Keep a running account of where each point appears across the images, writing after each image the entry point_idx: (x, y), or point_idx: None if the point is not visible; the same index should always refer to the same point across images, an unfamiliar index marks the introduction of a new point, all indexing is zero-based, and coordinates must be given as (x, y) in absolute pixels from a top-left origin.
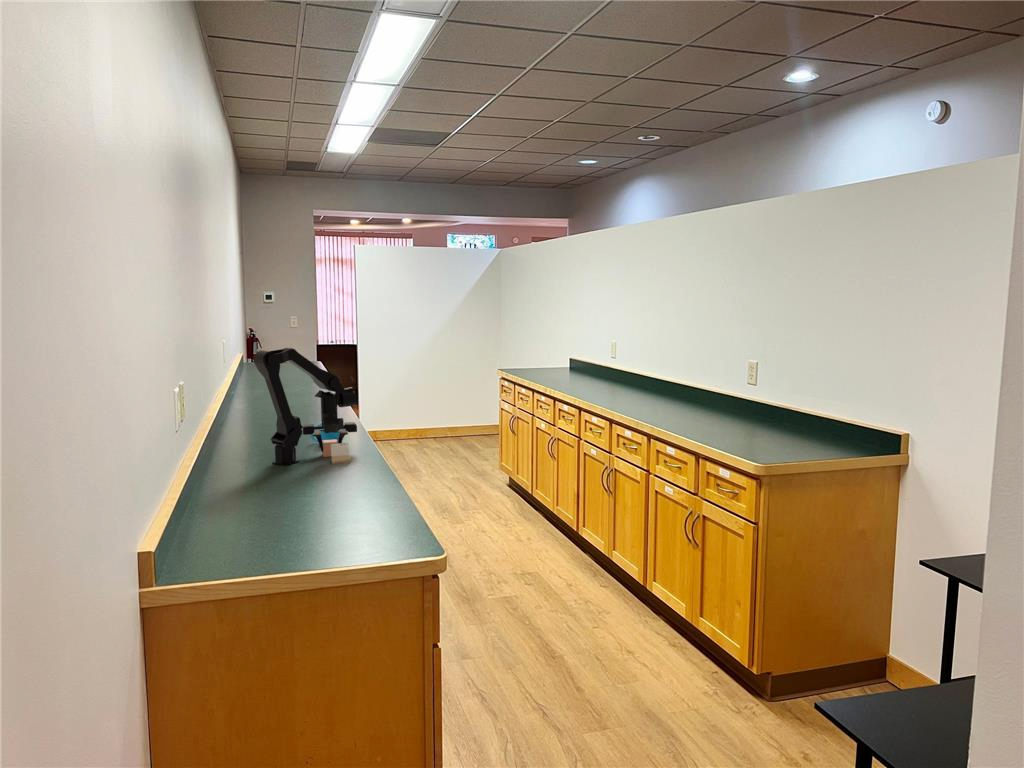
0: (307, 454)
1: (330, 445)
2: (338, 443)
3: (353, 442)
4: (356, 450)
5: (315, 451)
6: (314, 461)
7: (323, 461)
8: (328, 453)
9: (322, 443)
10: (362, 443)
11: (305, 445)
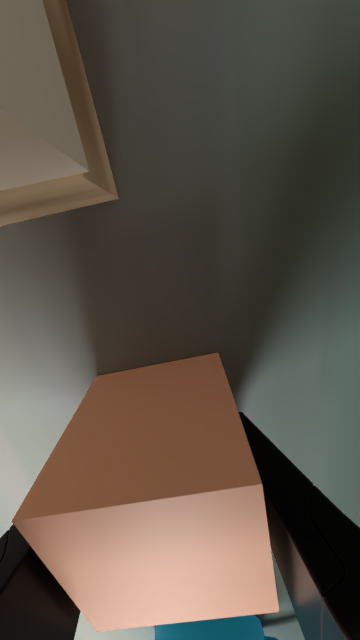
0: (351, 435)
1: (142, 451)
2: None
3: (100, 634)
4: (15, 511)
5: None
6: (306, 130)
7: (197, 119)
8: (176, 377)
9: (253, 623)
10: None
11: None
